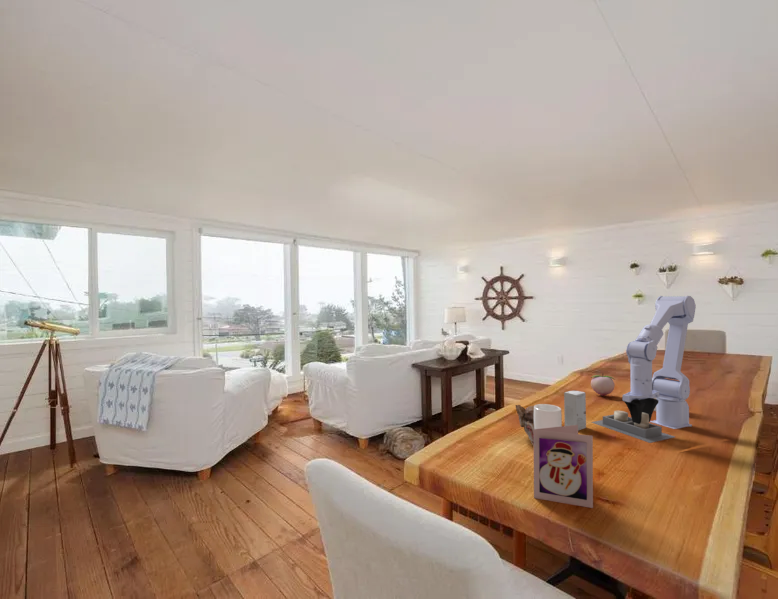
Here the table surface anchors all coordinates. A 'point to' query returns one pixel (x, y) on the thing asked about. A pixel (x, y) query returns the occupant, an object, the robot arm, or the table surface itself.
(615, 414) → the beige round piece
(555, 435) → the greeting card
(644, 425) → the cream cylinder
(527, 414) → the seed pod
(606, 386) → the decorative fruit
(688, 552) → the table surface
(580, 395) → the skincare box
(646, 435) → the gray compartment tray
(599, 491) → the table surface
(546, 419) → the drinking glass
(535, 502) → the table surface
